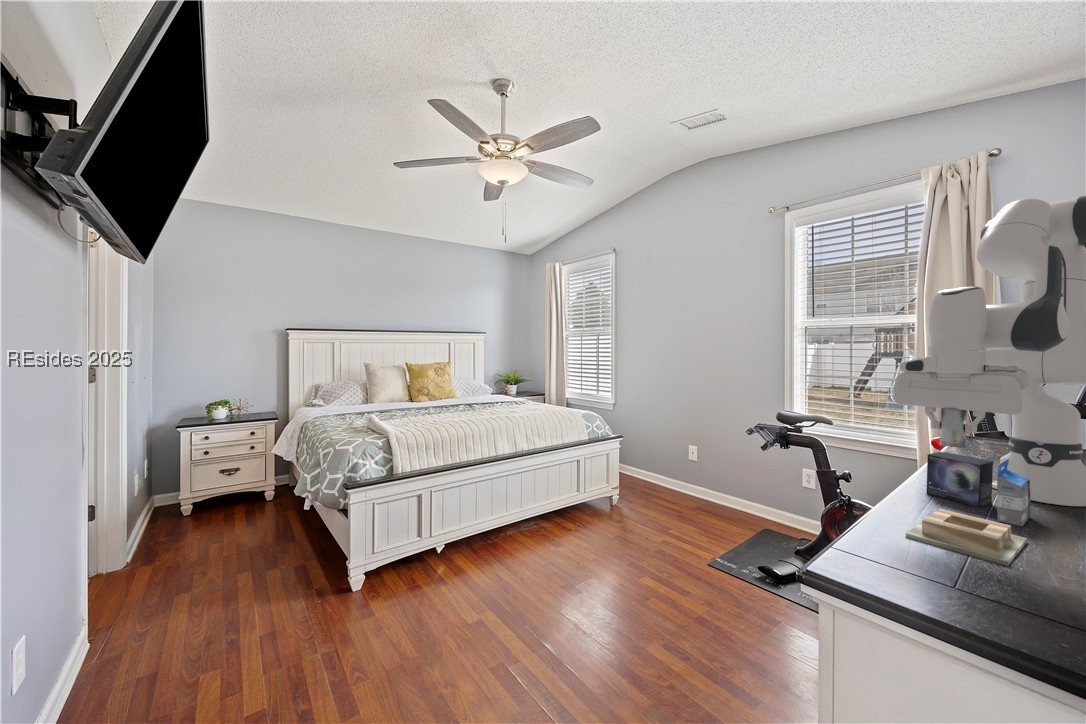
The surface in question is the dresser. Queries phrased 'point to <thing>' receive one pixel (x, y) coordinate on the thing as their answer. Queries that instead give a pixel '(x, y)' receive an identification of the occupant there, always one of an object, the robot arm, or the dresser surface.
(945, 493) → the small box
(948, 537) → the hub block
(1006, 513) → the label tape box
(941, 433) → the peg
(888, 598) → the dresser surface
